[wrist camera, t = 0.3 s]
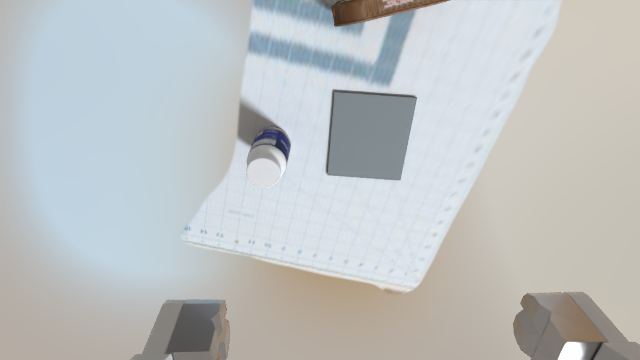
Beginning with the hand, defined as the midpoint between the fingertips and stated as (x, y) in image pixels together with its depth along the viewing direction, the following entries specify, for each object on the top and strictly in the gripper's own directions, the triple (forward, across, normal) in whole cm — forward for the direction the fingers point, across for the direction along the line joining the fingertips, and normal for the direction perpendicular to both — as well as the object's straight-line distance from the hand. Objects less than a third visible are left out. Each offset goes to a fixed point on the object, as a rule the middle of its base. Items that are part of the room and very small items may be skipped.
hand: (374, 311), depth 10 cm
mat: (+47, -8, +15) cm, 50 cm away
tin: (+47, -9, -5) cm, 48 cm away
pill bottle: (+49, +7, +16) cm, 52 cm away
